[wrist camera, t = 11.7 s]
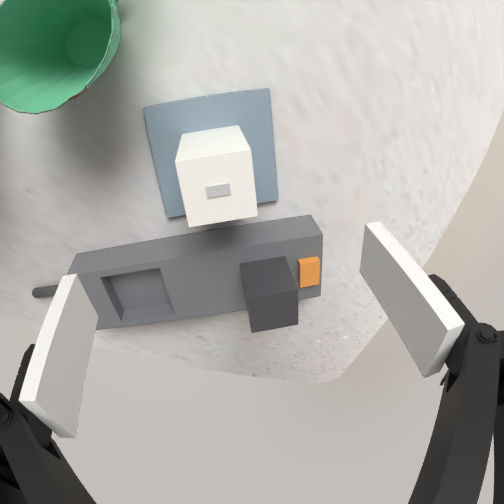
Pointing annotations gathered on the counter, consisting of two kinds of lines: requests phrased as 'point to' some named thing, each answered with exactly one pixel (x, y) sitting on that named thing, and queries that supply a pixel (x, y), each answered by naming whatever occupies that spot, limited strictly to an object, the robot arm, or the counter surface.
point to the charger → (216, 176)
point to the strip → (205, 275)
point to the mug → (54, 50)
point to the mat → (205, 118)
